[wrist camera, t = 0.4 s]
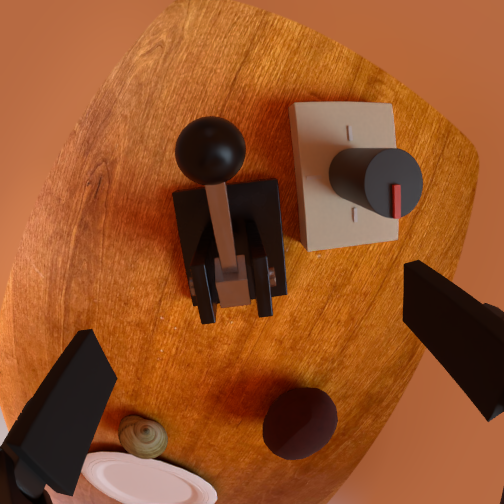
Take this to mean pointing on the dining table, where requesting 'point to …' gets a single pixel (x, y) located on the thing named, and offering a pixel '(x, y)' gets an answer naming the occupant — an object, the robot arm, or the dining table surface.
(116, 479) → the plate
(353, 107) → the dial panel
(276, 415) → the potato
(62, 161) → the dining table surface
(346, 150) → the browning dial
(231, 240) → the ball knob lever
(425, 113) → the dining table surface
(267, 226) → the lever bracket
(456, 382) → the robot arm
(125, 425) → the seashell
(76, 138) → the dining table surface
